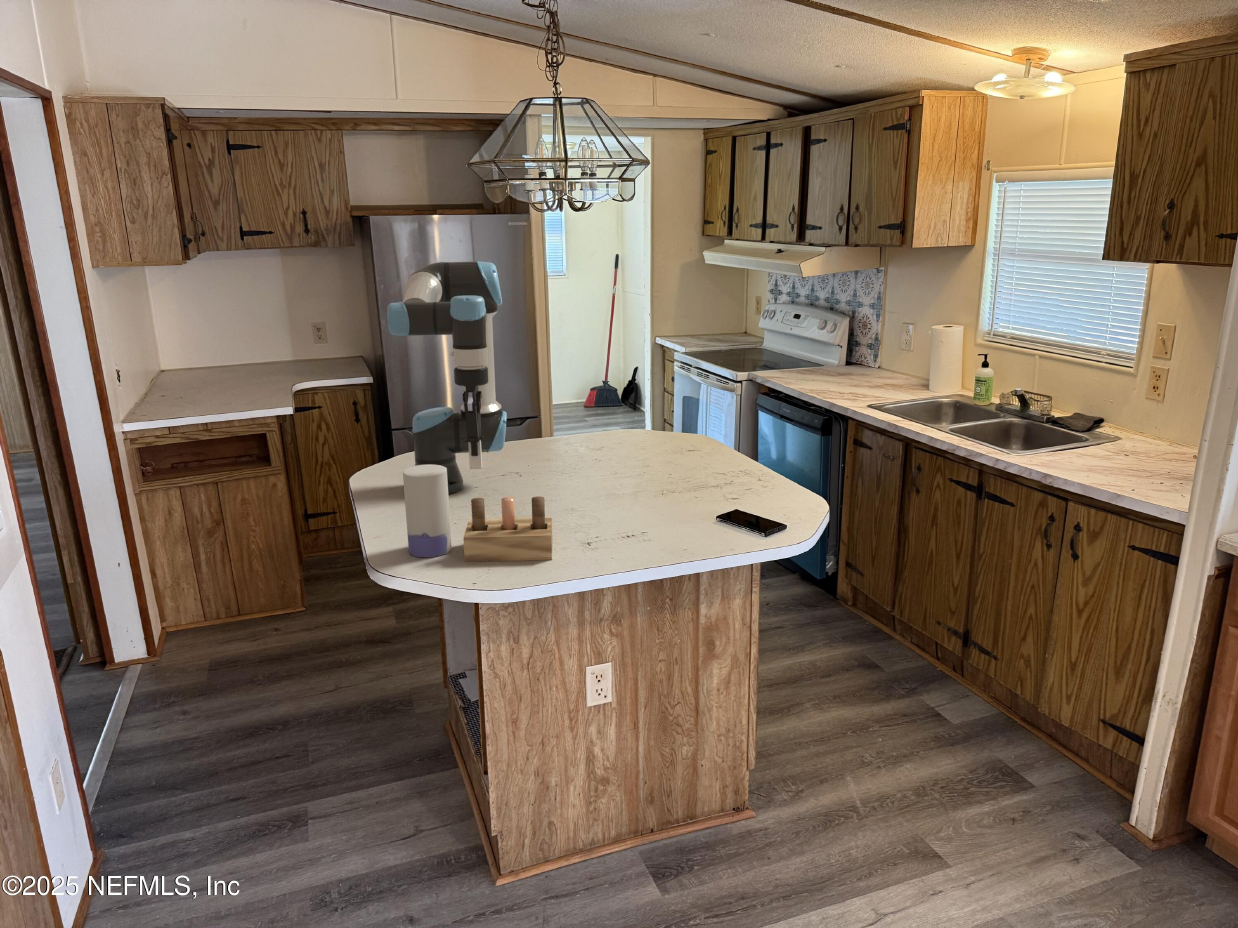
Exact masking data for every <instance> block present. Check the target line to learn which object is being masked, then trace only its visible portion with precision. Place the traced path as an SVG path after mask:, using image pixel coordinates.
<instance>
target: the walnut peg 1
mask: <svg viewBox="0 0 1238 928" xmlns="http://www.w3.org/2000/svg"><path fill="white" fill-rule="evenodd" d="M470 506H471V520H472V526H473V531H486V527H485V519H486V514H485V511H486V510H485V498H483V497H474V498H471V500H470Z"/></svg>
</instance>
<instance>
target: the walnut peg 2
mask: <svg viewBox="0 0 1238 928" xmlns="http://www.w3.org/2000/svg"><path fill="white" fill-rule="evenodd" d="M545 504H546V503H545V497H544V496H533V497H531V518H532V529H533V530H539V529H545V518H546V511H545V507H546V506H545Z"/></svg>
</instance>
